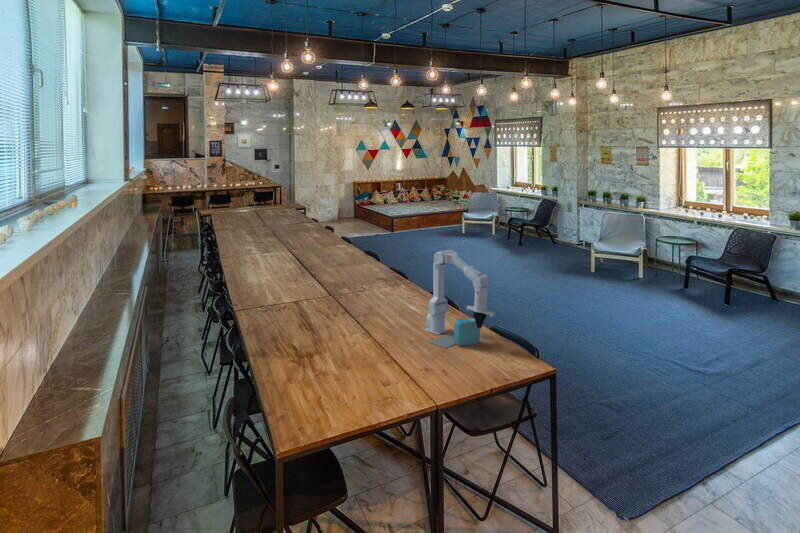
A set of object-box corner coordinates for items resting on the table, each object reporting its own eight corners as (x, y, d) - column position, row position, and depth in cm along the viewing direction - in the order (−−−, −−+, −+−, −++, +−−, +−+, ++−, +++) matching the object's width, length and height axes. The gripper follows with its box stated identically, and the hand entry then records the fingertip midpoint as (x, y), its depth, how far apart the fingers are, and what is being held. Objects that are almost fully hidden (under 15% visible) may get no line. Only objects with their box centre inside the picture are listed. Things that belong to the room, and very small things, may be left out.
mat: (428, 342, 246) (428, 341, 246) (458, 330, 263) (458, 329, 263) (445, 348, 239) (445, 347, 239) (475, 335, 255) (475, 335, 255)
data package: (474, 340, 249) (476, 317, 246) (479, 343, 245) (481, 320, 242) (453, 342, 245) (454, 320, 242) (457, 346, 241) (459, 323, 238)
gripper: (498, 301, 232) (497, 329, 235) (473, 295, 242) (472, 321, 245) (489, 305, 227) (488, 333, 231) (464, 298, 237) (463, 325, 240)
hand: (479, 327), depth 238 cm, fingers closed
